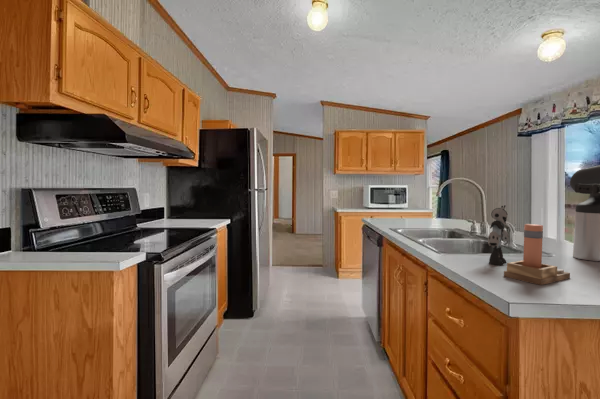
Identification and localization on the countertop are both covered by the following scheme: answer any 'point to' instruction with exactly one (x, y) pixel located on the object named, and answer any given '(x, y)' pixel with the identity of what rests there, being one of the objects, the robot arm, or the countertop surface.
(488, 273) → the countertop surface
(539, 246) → the banded orange cylinder
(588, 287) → the countertop surface
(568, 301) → the countertop surface
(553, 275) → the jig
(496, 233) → the robot
